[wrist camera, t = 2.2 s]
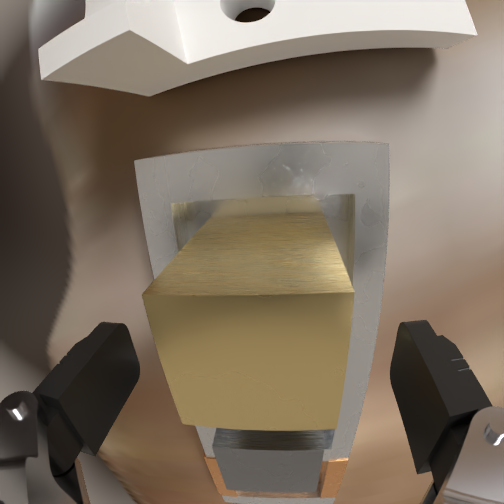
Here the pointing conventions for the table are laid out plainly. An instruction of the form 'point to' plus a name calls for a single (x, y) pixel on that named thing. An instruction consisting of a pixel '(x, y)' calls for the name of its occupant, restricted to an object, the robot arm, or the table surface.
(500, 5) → the table surface
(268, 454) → the brushed steel cube
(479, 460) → the robot arm
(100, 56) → the bracket
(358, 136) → the table surface
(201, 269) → the yellow gold block
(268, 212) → the grey long flat tray
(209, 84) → the table surface
